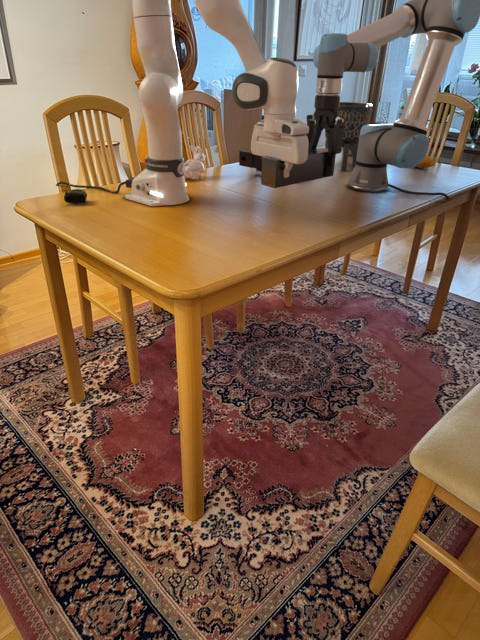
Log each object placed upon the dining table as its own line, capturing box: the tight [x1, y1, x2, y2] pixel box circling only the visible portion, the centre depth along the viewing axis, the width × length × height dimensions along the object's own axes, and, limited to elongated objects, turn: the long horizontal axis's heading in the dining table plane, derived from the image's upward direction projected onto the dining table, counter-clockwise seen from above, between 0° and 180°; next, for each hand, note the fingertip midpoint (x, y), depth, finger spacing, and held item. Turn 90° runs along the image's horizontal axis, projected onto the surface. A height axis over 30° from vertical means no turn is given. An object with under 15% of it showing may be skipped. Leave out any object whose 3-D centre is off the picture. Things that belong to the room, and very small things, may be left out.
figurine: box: [184, 144, 206, 180], centre depth 182 cm, size 8×15×13 cm, turn 145°
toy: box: [415, 154, 437, 169], centre depth 213 cm, size 11×6×15 cm
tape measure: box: [63, 188, 88, 205], centre depth 151 cm, size 7×7×4 cm
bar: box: [260, 147, 337, 189], centre depth 139 cm, size 27×6×8 cm, turn 131°
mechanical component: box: [238, 149, 262, 176], centre depth 191 cm, size 22×21×30 cm
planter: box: [324, 101, 374, 172], centre depth 204 cm, size 20×20×26 cm
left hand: (276, 174), depth 134 cm, fingers closed on bar, 6 cm apart
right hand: (319, 173), depth 147 cm, fingers closed on bar, 6 cm apart
